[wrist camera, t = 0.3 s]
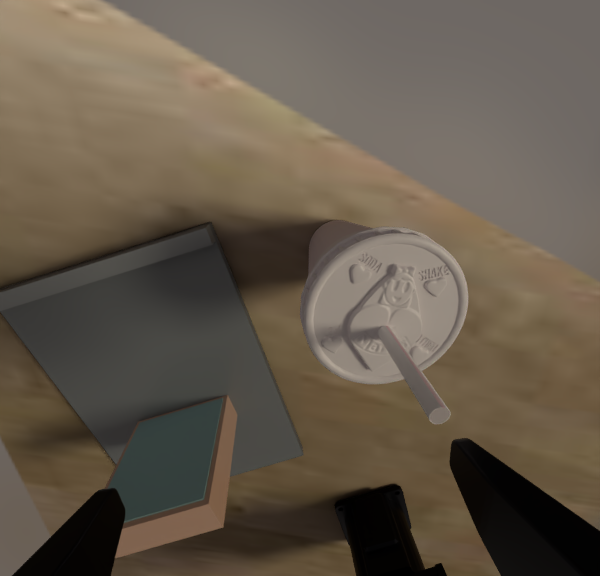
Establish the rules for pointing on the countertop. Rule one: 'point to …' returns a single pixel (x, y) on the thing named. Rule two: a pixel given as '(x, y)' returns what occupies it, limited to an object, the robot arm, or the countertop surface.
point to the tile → (175, 475)
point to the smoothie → (382, 306)
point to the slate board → (154, 343)
